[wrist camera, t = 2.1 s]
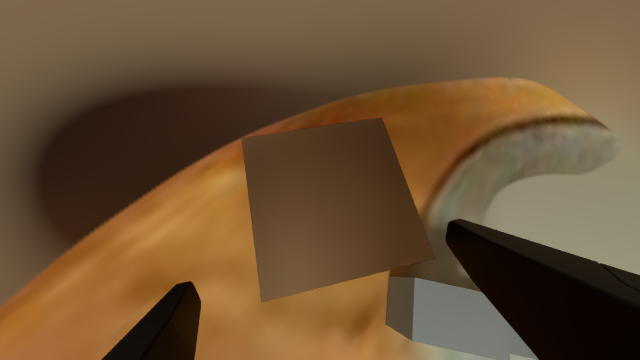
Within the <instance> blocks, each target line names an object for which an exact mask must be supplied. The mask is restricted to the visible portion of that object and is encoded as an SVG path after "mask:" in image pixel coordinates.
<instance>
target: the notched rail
mask: <svg viewBox="0 0 640 360" xmlns="http://www.w3.org/2000/svg"><path fill="white" fill-rule="evenodd" d="M386 325H387V326H389V327H391V328H392V329H394V330H395V331H397V332H399V333H400V334H402V335H404V336H405V337H407V338H408V339H410V340H412V341H415V342H419V343H424V344H429V345H433V346H438V347H442V348H447V349H452V350H456V351H461V352H466V353H470V354H475V355H479V356H484V357H489V358H493V359H498V360H510V356H509V353H510V354H515V355H519V356H524V357H529V358H533V359H538V358H537V357H536V356H535V354H534V353H533V352H532V351H531V350H530V349H529V347H528V346H527V345H526V344H525V343H524V341H523V340H522V339H521V338H520V337H519V335H518V334H517V333H516V332H515V331H514V330H513V328H512V327H511V326H510V325H509V324H508V322H507V321H506V320H505V319H504V318H503V317H502V315H501V314H500V313H499V312H498V311H497V309H496V308H495V307H494V306H493V305H492V303H491V302H490V301H489V300H488V299H487V298H486V296H485V295H484V294H483V293H482V292H480V291H475V290H471V289H466V288H462V287H457V286H452V285H448V284H443V283H438V282H434V281H429V280H424V279H420V278H415V277H395V276H389V287H388V300H387V313H386ZM538 360H539V359H538Z"/></svg>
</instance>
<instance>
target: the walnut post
mask: <svg viewBox="0 0 640 360" xmlns="http://www.w3.org/2000/svg"><path fill="white" fill-rule="evenodd" d="M242 145H243V154H244V162H245V170H246V178H247V187H248V195H249V203H250V212H251V220H252V228H253V236H254V245H255V253H256V261H257V270H258V278H259V286H260V294H261V302H265V301H269V300H273V299H277V298H281V297H285V296H289V295H293V294H297V293H301V292H305V291H309V290H313V289H316V288H320V287H324V286H328V285H332V284H336V283H340V282H344V281H348V280H352V279H356V278H360V277H364V276H368V275H372V274H376V273H380V272H384V271H388V270H392V269H395V268H399V267H403V266H407V265H411V264H415V263H419V262H423V261H427V260H431V259H435V256H434V254H433V251H432V249H431V246H430V243H429V241H428V238H427V235H426V233H425V230H424V227H423V225H422V222H421V220H420V217H419V214H418V212H417V209H416V206H415V204H414V201H413V199H412V196H411V193H410V191H409V188H408V185H407V183H406V180H405V177H404V175H403V172H402V170H401V167H400V164H399V162H398V159H397V156H396V154H395V151H394V148H393V146H392V143H391V141H390V138H389V135H388V133H387V130H386V127H385V125H384V122H383V120H382V117H381V118H375V119H368V120H361V121H354V122H348V123H341V124H334V125H327V126H321V127H314V128H307V129H301V130H294V131H287V132H280V133H274V134H267V135H260V136H253V137H247V138H242Z"/></svg>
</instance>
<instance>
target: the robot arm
mask: <svg viewBox="0 0 640 360" xmlns="http://www.w3.org/2000/svg"><path fill="white" fill-rule="evenodd" d="M446 243H447V245H448V247H449V248H450V250H451V251H452V252H453V254H454V255H455V257H456V258H457V259H458V261H459V262H460V264H461V265H462V267H463V268H464V269H465V271H466V272H467V274H468V275H469V277H470V278H471V279H472V281H473V282H474V283H475V284H476V286H477V287H478V288H479V289H480V290H481V292H482V293H483V294H484V295H485V296H486V298H487V299H488V300H489V301H490V302H491V303H492V305H493V306H494V307H495V308H496V309H497V311H498V312H499V313H500V314H501V315H502V317H503V318H504V319H505V320H506V321H507V322H508V324H509V325H510V326H511V327H512V328H513V330H514V331H515V332H516V333H517V334H518V335H519V337H520V338H521V339H522V340H523V341H524V343H525V344H526V345H527V346H528V347H529V349H530V350H531V351H532V352H533V353H534V354H535V356H536V357H537V358H538V359H539V360H640V275H637V274H634V273H631V272H627V271H624V270H621V269H618V268H615V267H612V266H608V265H605V264H602V263H600V264H599V263H598V262H595V261H592V260H589V259H586V258H583V257H579V256H576V255H573V254H570V253H567V252H564V251H560V250H558V249H554V248H551V247H548V246H545V245H542V244H539V243H535V242H532V241H529V240H526V239H523V238H520V237H516V236H513V235H510V234H507V233H504V232H500V231H497V230H494V229H491V228H488V227H485V226H482V225H479V224H475V223H472V222H469V221H466V220H463V219H456V220H452V221H450V222H449V223H448V226H447V233H446ZM200 310H201V300H200V297H199V295H198V293H197V291H196V288H195V286H194V284H193V283H192V282H191V281H187V282H183V283H179V284H176V285H175V286H174V287H173V288H172V289H171V290H170V291H169V292H168V293H167V294H166V295H165V296H164V297H163V298H162V299H161V300H160V301H159V302H158V303H157V304H156V305H155V306H154V307H153V308H152V309H151V310H150V311H149V312H148V313H147V314H146V315H145V316H144V317H143V318H142V319H141V320H140V321H139V322H138V323H137V324H136V325H135V326H134V327H133V328H132V329H131V330H130V331H129V332H128V333H127V334H126V335H125V336H124V337H123V338H122V339H121V340H120V341H119V342H118V343H117V344H116V345H115V346H114V348H113V349H112V350H111V351H110V352H109V353H108V354H107V355H106V356H105V357H104V358H103V359H102V360H194V358H195V351H196V343H197V335H198V326H199V318H200Z"/></svg>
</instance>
